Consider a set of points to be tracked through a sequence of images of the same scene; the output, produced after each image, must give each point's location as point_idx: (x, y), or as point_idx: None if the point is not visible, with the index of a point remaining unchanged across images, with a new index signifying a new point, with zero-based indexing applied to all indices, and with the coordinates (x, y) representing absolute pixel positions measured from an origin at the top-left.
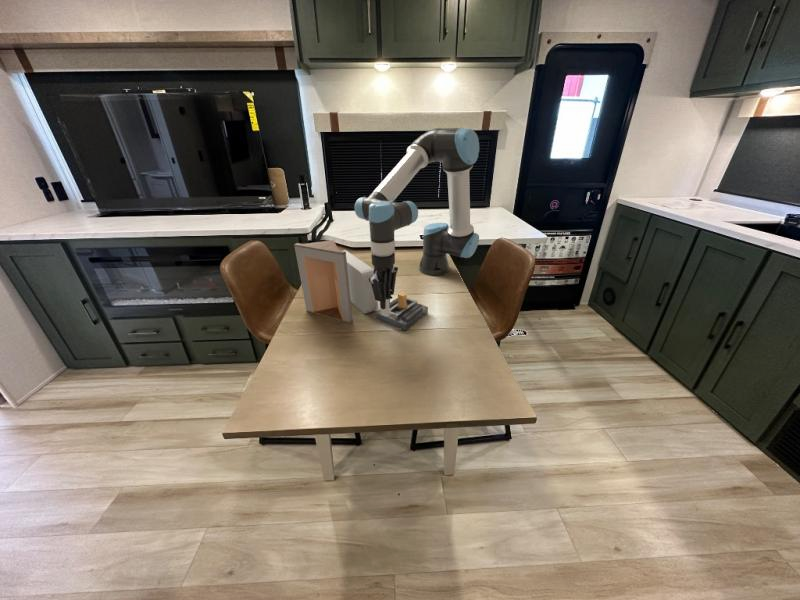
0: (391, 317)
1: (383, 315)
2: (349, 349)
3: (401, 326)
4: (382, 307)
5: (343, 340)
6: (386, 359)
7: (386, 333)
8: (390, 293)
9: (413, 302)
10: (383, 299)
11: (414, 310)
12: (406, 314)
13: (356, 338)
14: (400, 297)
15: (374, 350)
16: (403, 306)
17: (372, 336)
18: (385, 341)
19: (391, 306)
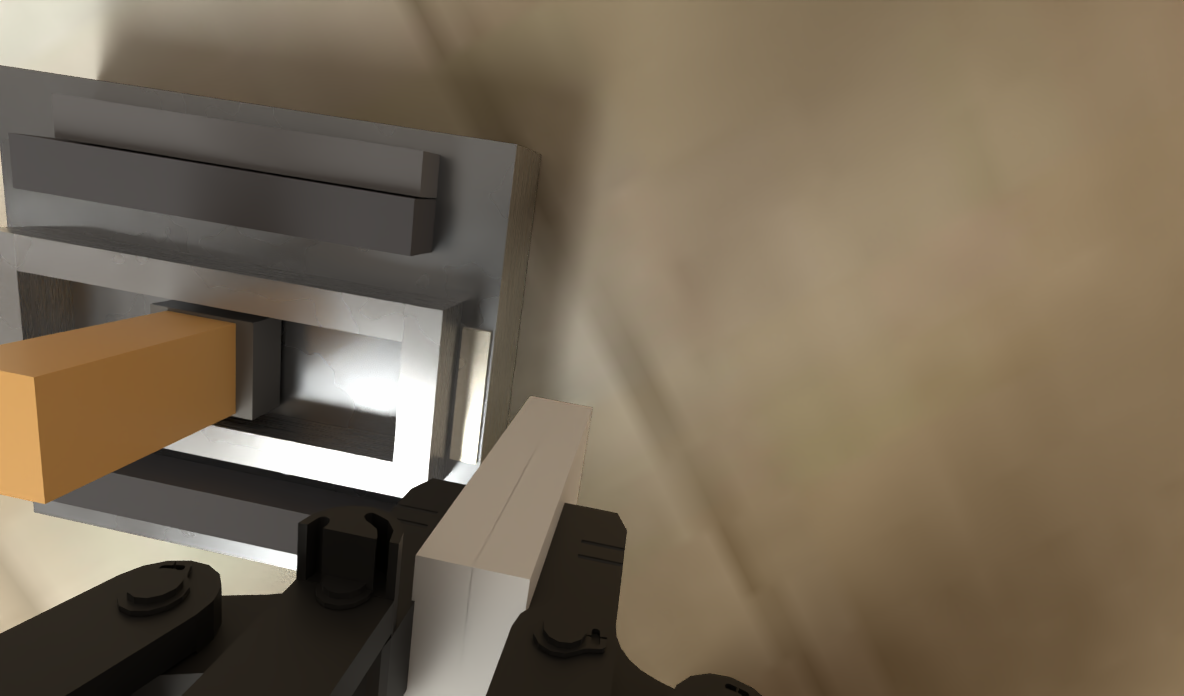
0: (465, 389)
1: (581, 474)
2: (1089, 544)
3: (521, 215)
4: (622, 559)
5: (963, 663)
6: (1140, 91)
7: (670, 335)
8: (245, 655)
9: (35, 265)
10: (610, 692)
11: (187, 162)
12: (342, 211)
13: (882, 569)
14: (84, 431)
15: (1018, 303)
16: (210, 332)
17: (784, 443)
18: (813, 273)
19: (271, 493)
